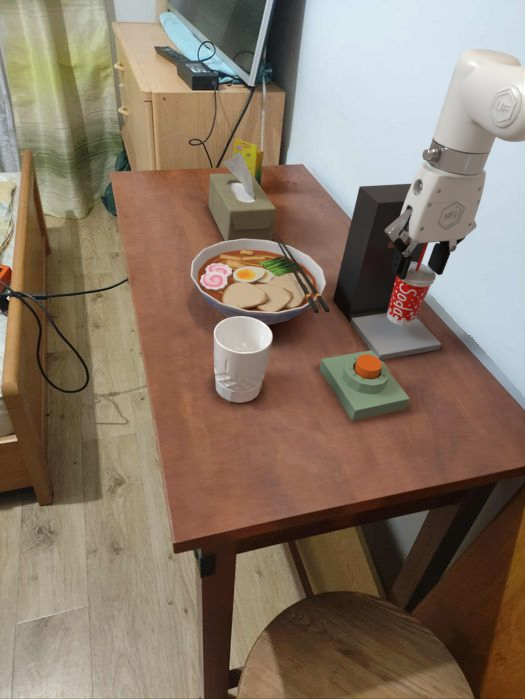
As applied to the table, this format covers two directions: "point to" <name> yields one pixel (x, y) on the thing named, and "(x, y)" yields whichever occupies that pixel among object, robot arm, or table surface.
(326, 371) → the brew pad
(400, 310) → the beverage cup
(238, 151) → the crayon box
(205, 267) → the ramen bowl
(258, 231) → the tissue box
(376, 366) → the button
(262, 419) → the table surface
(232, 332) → the white cup
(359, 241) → the coffee maker
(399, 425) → the table surface
